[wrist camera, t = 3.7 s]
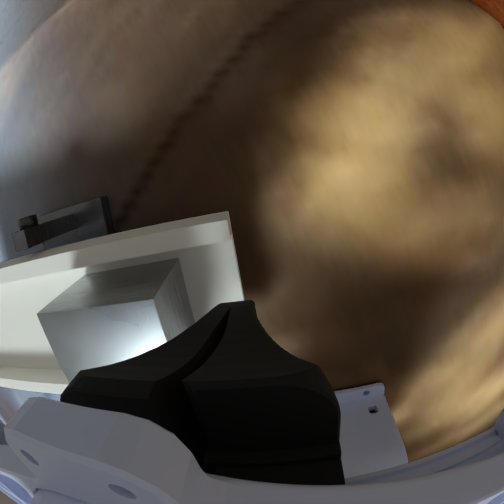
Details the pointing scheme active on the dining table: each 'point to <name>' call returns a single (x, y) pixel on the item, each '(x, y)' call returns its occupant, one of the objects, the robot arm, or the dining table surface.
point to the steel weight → (116, 315)
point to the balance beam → (102, 259)
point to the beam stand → (65, 225)
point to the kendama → (492, 8)
